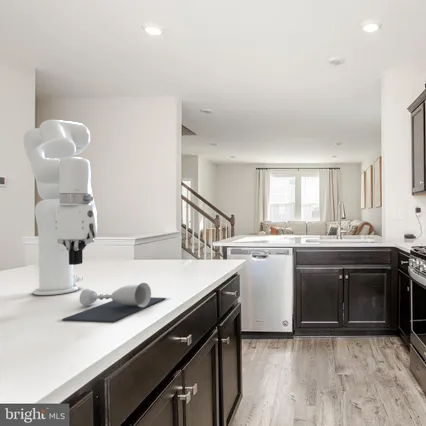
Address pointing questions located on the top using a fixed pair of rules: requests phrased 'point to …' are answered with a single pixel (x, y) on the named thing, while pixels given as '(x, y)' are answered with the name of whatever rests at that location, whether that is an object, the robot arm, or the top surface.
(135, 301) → the chalice
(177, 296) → the top surface
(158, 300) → the mat
